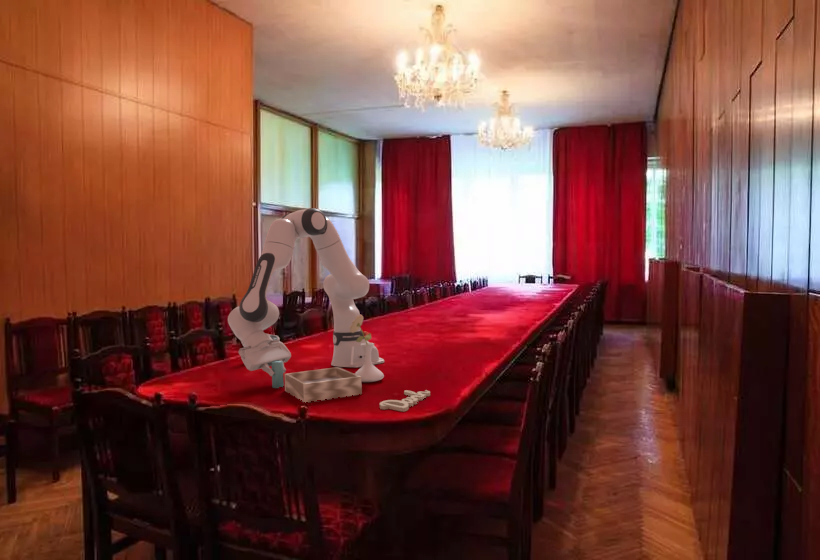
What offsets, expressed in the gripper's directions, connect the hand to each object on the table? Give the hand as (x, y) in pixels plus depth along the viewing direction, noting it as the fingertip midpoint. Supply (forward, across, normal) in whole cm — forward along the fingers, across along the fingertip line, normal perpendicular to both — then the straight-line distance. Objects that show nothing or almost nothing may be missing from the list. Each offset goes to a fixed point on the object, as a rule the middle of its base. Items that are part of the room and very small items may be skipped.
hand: (278, 373), depth 219 cm
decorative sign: (+41, +2, -33) cm, 52 cm away
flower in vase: (+20, +20, -13) cm, 32 cm away
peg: (+3, 0, +4) cm, 5 cm away
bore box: (+18, 0, -11) cm, 21 cm away
